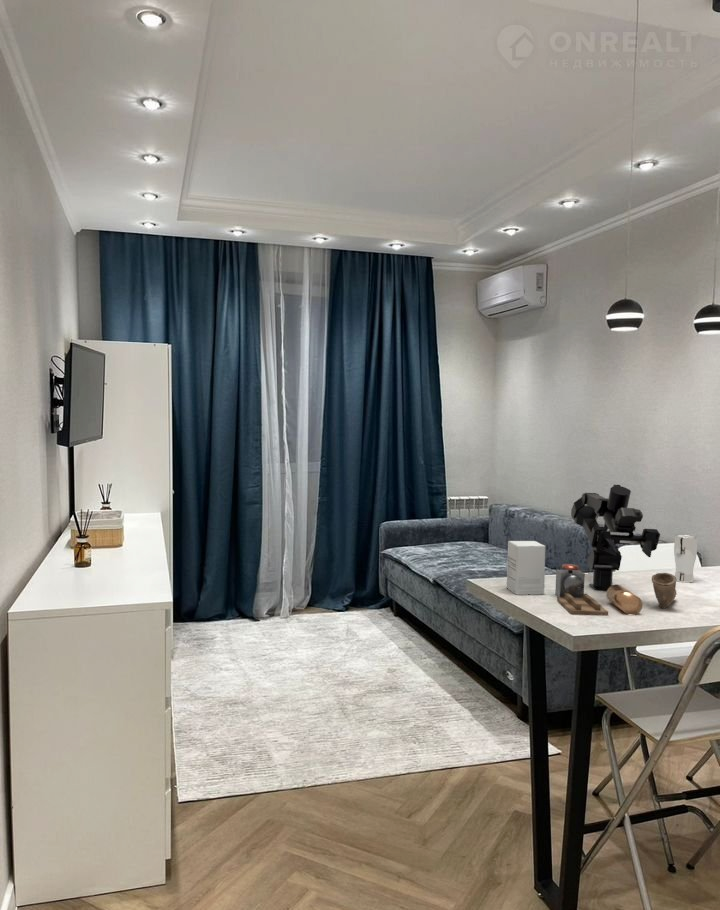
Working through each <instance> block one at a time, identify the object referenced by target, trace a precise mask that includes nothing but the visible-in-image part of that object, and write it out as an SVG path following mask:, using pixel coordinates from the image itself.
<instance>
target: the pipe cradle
mask: <svg viewBox="0 0 720 910" xmlns="http://www.w3.org/2000/svg"><path fill="white" fill-rule="evenodd" d="M556 601H557V603H558V604H560V605H561V606H562V607H563V609H565V611H567V612H568V613H569V614H570V615H579V616H583V615H584V616H609V611H608V610H607V609H606V608H604V607H603V605H602V606H601V604H600V603H599V602H598V601H597V600H595V598H594V597H591V596H590V595H589V594H588V593H584V594H583V597H582V598H574V597H573V596H571V595H570V594H569V593H565V596H564V598H558V597H557V596H556Z"/></svg>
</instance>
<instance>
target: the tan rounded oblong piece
mask: <svg viewBox="0 0 720 910" xmlns="http://www.w3.org/2000/svg"><path fill="white" fill-rule="evenodd" d="M606 599H607V600H608V601H609V602H610V603H611V604H612V605H614V606H615V607H616V608H618V609H619V610H621V611H622V612H623V613H624V614H626V615H628V614H636V615H638V614H639V613H640V612H641V611H642V609H643V602H642V601H643V600H642V599H641V598H640V597H639V596H637V594H634V593H633V592H631V591H630V590H628V588H626V587H624V586H622V585H621V584H612V586H610V587H609V588H608V590H606Z"/></svg>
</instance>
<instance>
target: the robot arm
mask: <svg viewBox="0 0 720 910" xmlns="http://www.w3.org/2000/svg"><path fill="white" fill-rule="evenodd" d="M631 492H632V491H631V490H630V489H629V488H627V487H625V486H621V484H613V486H611V487H610V489H609V494H608V498H606V497H603V496H602V495H600V494H599V493H597V492H583V493H582V495H581V497H579V498H578V499H577V500H576V501H574V502H573V504H572V507H571V511H570V516H571V518H572V520H573V521H574V522H575V524H576V525H579V526H580V527H582V528H583V530H584V532H585V535H586V536H587V538H588V540H589V544H590V546H591V547H592V548H591V552H590V553H589V555H588V558H587V567H588V568H589V569H590V570H593V573H592V583H589V584H588V585H589V586H590V587H591V588H592V589H594V590H596V591H607V590H608V588H609V587H610V586H612V585H613V571H620V568H621V561H622V558H623V556H622V553H621V550H620V549H619V546H618V545H629V546H630V545H631V544H634V545H637V544H639V545H640V546H639V547H640V548H641V552H643V554H644V555H646V557H648V558H651V557H652V552H654V551H655V550H657V548H658V544H659V540H660V537H661V533H660V531H659V530H658V529H657V528H643V530H642V533H641V535H636V534H634V532H635V531H636V525H635V524H636V523H637V522H638V523H640V522H642V520H643V518H644V514H643V512H642V511H641V509H638V508H637V509H636V508H635V507H629V502H630V496H631ZM601 517H603V521H604V523H603V525H604V526H603V525H602V526H601V525H599V522H598V518H601Z"/></svg>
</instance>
